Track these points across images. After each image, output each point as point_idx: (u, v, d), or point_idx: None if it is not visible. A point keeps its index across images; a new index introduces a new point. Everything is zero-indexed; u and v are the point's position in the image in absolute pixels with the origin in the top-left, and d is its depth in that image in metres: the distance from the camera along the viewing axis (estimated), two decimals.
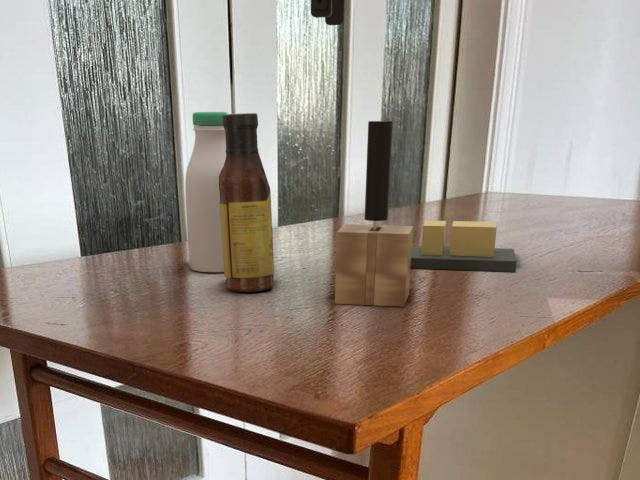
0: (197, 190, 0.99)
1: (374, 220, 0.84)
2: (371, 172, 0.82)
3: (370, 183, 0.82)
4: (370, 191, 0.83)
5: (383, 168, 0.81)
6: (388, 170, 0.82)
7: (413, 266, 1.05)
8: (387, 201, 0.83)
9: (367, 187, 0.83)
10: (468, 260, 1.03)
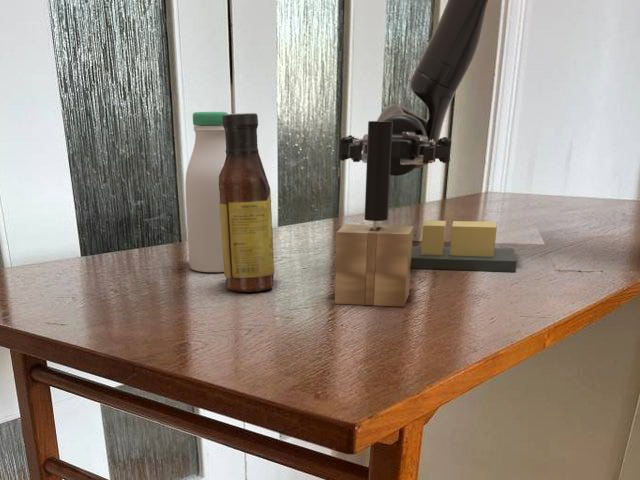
0: (197, 190, 0.99)
1: (374, 220, 0.84)
2: (371, 172, 0.82)
3: (370, 183, 0.82)
4: (370, 191, 0.83)
5: (383, 168, 0.81)
6: (388, 170, 0.82)
7: (413, 266, 1.05)
8: (387, 201, 0.83)
9: (367, 187, 0.83)
10: (468, 260, 1.03)
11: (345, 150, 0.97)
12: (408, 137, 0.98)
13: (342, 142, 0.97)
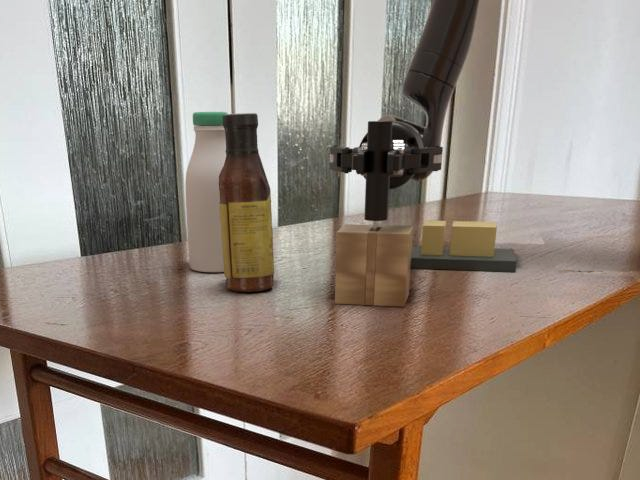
0: (197, 190, 0.99)
1: (374, 220, 0.84)
2: (370, 172, 0.82)
3: (370, 183, 0.82)
4: (370, 191, 0.83)
5: (383, 168, 0.81)
6: None
7: (413, 266, 1.05)
8: (387, 201, 0.83)
9: (367, 187, 0.83)
10: (468, 260, 1.03)
11: (349, 162, 0.84)
12: (392, 145, 0.86)
13: (348, 152, 0.84)
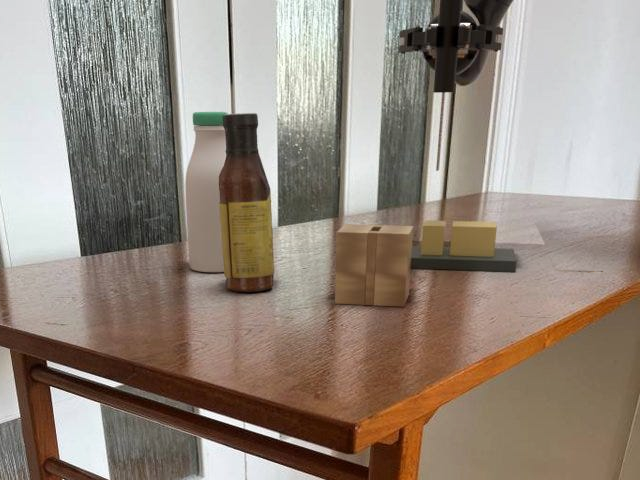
0: (197, 190, 0.99)
1: (443, 91, 0.93)
2: (441, 45, 0.91)
3: (440, 56, 0.92)
4: (440, 63, 0.92)
5: (453, 41, 0.91)
6: None
7: (413, 266, 1.05)
8: (455, 74, 0.93)
9: (437, 60, 0.92)
10: (468, 260, 1.03)
11: (420, 39, 0.93)
12: None
13: (419, 30, 0.93)
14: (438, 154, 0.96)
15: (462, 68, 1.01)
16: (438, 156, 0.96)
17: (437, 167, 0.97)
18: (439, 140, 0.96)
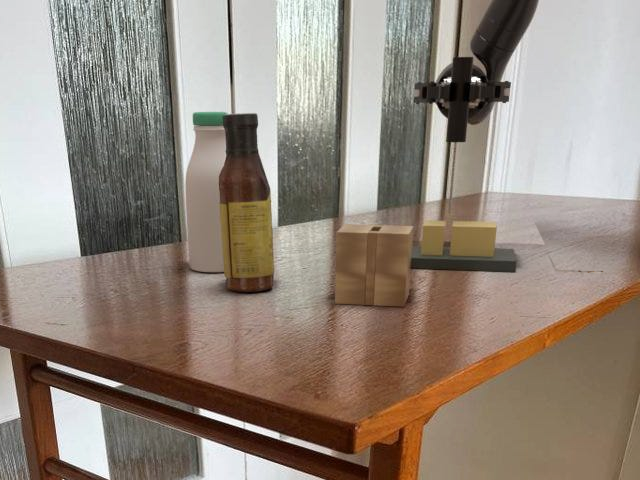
0: (197, 190, 0.99)
1: (455, 141, 1.01)
2: (454, 100, 0.99)
3: (453, 110, 0.99)
4: (453, 116, 1.00)
5: (464, 96, 0.98)
6: (468, 99, 0.99)
7: (413, 266, 1.05)
8: (466, 126, 1.00)
9: (450, 113, 1.00)
10: (468, 260, 1.03)
11: (434, 93, 1.01)
12: None
13: (433, 85, 1.01)
14: (450, 198, 1.04)
15: (472, 116, 1.09)
16: (450, 200, 1.04)
17: (449, 210, 1.05)
18: (451, 185, 1.03)
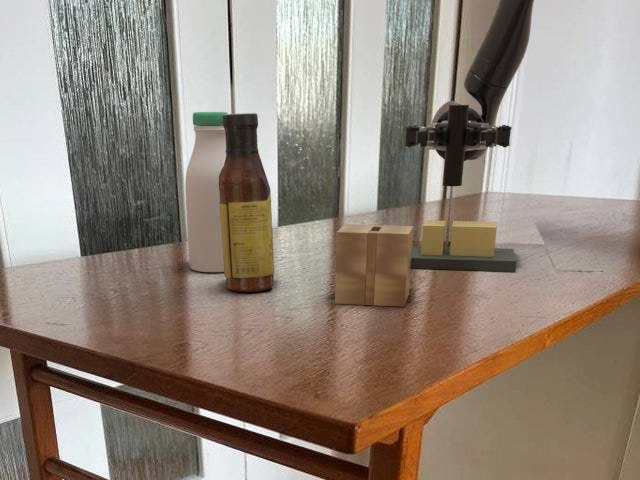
0: (197, 190, 0.99)
1: (451, 185, 1.03)
2: (450, 146, 1.01)
3: (449, 155, 1.02)
4: (449, 161, 1.02)
5: (460, 142, 1.01)
6: (464, 145, 1.01)
7: (413, 266, 1.05)
8: (462, 170, 1.03)
9: (446, 159, 1.02)
10: (468, 260, 1.03)
11: (412, 137, 1.05)
12: (470, 125, 1.06)
13: (409, 130, 1.05)
14: (447, 239, 1.06)
15: (469, 157, 1.11)
16: (447, 241, 1.07)
17: (446, 251, 1.07)
18: (448, 227, 1.06)
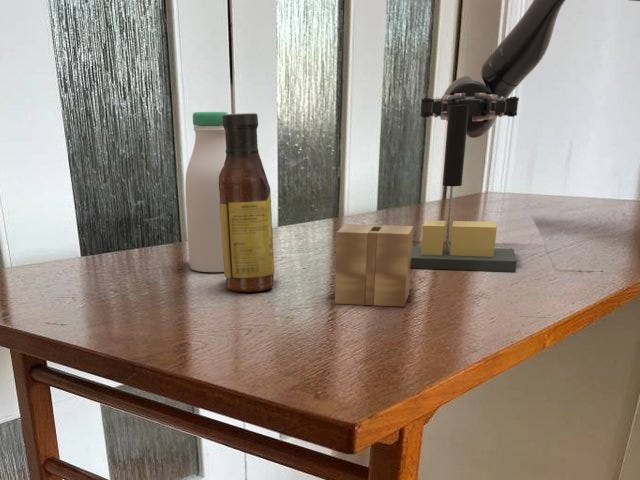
0: (197, 190, 0.99)
1: (451, 185, 1.03)
2: (450, 146, 1.01)
3: (449, 155, 1.02)
4: (449, 161, 1.02)
5: (460, 142, 1.01)
6: (464, 145, 1.01)
7: (413, 266, 1.05)
8: (462, 170, 1.03)
9: (446, 159, 1.02)
10: (468, 260, 1.03)
11: (427, 108, 1.14)
12: (480, 97, 1.15)
13: (424, 101, 1.14)
14: (447, 239, 1.06)
15: (478, 128, 1.20)
16: (447, 241, 1.07)
17: (446, 251, 1.07)
18: (448, 227, 1.06)
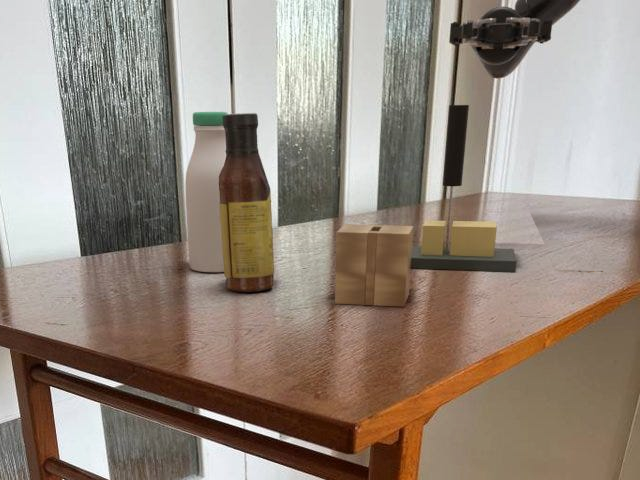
0: (197, 190, 0.99)
1: (451, 185, 1.03)
2: (450, 146, 1.01)
3: (449, 155, 1.02)
4: (449, 161, 1.02)
5: (460, 142, 1.01)
6: (464, 145, 1.01)
7: (413, 266, 1.05)
8: (462, 170, 1.03)
9: (446, 159, 1.02)
10: (468, 260, 1.03)
11: (456, 33, 1.09)
12: (512, 21, 1.10)
13: (454, 25, 1.09)
14: (447, 239, 1.06)
15: (509, 58, 1.16)
16: (447, 241, 1.07)
17: (446, 251, 1.07)
18: (448, 227, 1.06)
